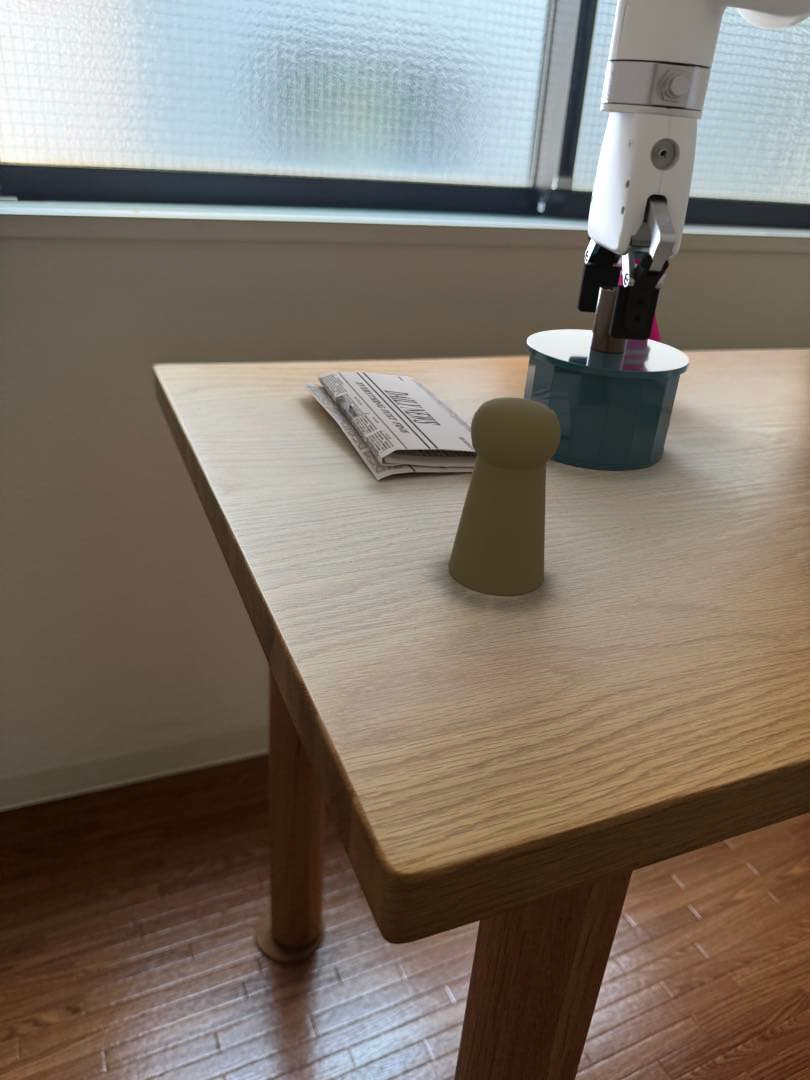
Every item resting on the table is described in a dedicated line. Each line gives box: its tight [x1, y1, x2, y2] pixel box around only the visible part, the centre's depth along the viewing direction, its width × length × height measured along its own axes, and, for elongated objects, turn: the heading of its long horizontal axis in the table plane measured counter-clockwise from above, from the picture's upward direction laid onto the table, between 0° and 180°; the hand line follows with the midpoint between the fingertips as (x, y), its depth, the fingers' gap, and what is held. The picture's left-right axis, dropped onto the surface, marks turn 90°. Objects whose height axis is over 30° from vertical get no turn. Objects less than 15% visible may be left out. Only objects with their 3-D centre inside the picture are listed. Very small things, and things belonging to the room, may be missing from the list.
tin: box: [523, 353, 681, 471], centre depth 75 cm, size 13×13×8 cm
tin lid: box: [525, 285, 691, 379], centre depth 72 cm, size 14×14×6 cm
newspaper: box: [301, 371, 477, 481], centre depth 76 cm, size 23×12×2 cm, turn 18°
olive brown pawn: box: [448, 397, 561, 596], centre depth 51 cm, size 6×6×11 cm
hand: (610, 324), depth 72 cm, fingers open, 9 cm apart
